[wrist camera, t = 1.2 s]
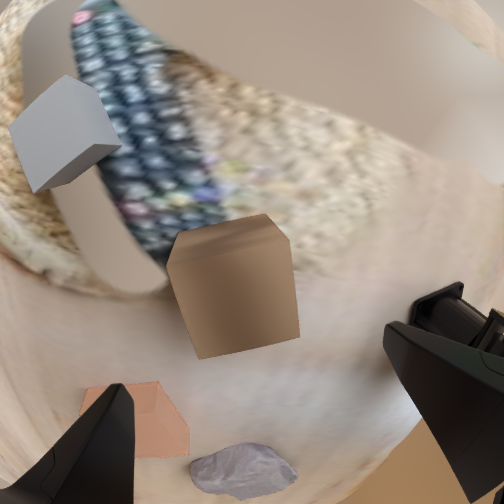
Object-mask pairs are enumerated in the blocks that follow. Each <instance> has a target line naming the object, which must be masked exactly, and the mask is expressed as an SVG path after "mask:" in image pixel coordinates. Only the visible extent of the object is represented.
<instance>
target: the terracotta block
mask: <svg viewBox="0 0 504 504" xmlns="http://www.w3.org/2000/svg"><path fill="white" fill-rule="evenodd" d="M124 386H125V387H126V389H127V390H128V392H129V393H130V395H131V396H132V398H133V400H134V408H135V457H171V456H185V455H190V454H189V427H188V425H187V424H186V423H185V421H184V420H183V418H182V417H181V415H180V414H179V412H178V411H177V410H176V408H175V407H174V405H173V404H172V402H171V400H170V399H169V397H168V396H167V394H166V393H165V391H164V390H163V388H162V386H161V385H160V383H159V381H156V382H148V383H140V384H131V385H124ZM108 387H109V386H108ZM108 387H93V388H88V390H87V393H86V396H85V399H84V401H83V404H82V407H81V410H80V413H79V416H81V415H82V414H83V413H84V412H85V411H86V410H87V409H88V408H89V407H90V406H91V405H92V404H93V403H94V401H95V400H96V399H97V398H98V397H99V396H100V395H101V394H102V393H103V392H104V391H105V390H106V389H107V388H108Z"/></svg>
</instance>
